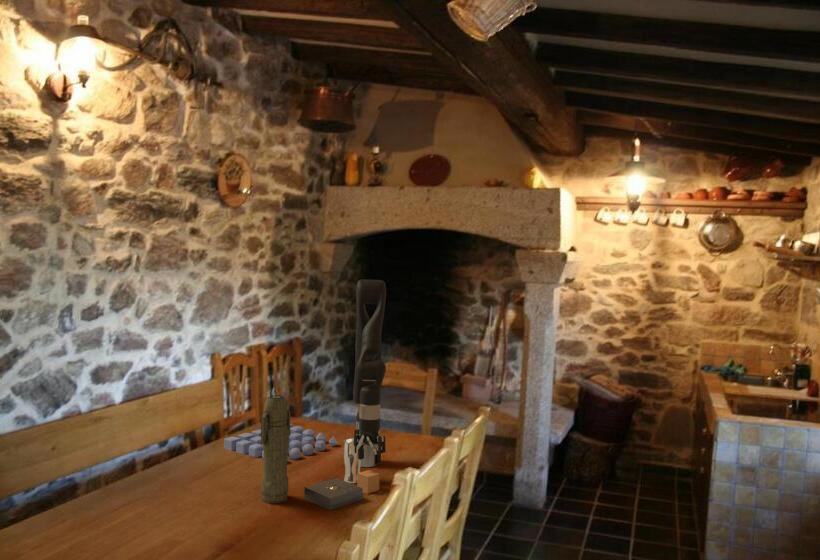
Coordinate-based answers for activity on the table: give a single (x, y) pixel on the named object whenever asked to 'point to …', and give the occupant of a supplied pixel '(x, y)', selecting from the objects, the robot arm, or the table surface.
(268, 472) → the green stone statue
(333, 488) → the pin
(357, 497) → the plate
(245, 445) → the blocks
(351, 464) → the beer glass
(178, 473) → the table surface
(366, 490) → the light brown cube
